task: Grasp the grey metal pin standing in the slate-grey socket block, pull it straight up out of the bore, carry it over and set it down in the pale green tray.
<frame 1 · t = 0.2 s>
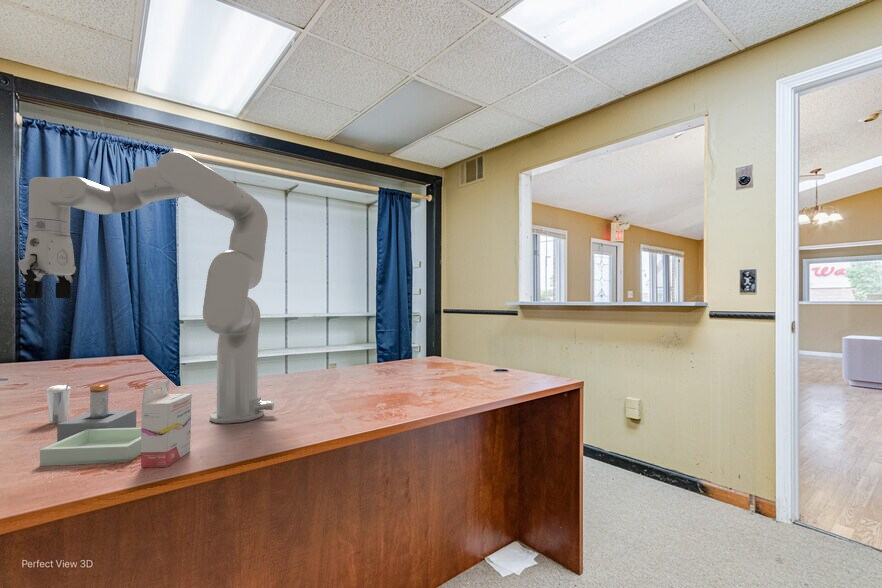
hand: (49, 298, 103), 31 cm above the table, tool pointing down, fingers open, 9 cm apart
milkshake: (59, 423, 104), on the table
tray: (106, 452, 84), on the table
pin: (99, 410, 95), in the socket block
socket block: (99, 434, 95), on the table
ink cartridge box: (167, 460, 81), on the table
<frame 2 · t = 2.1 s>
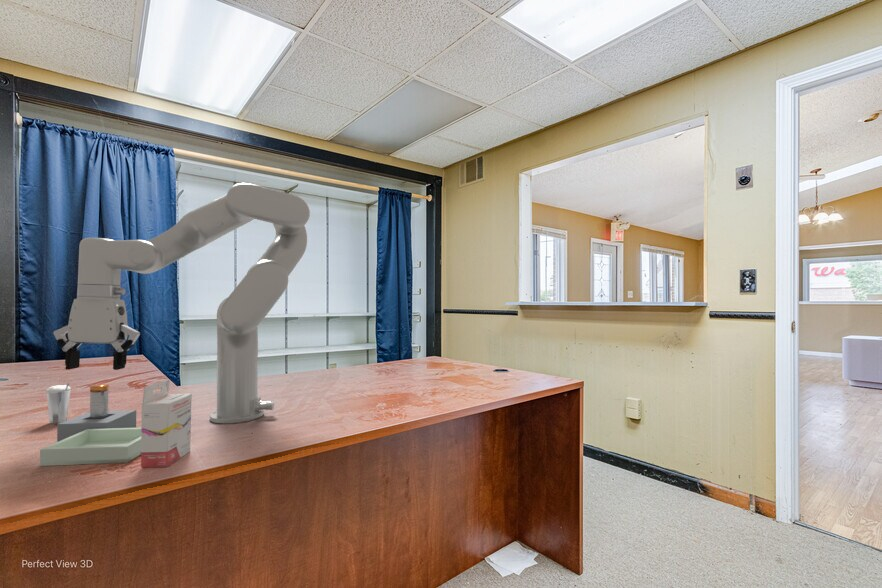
hand: (95, 368, 95), 15 cm above the table, tool pointing down, fingers open, 9 cm apart
nothing on the table moved.
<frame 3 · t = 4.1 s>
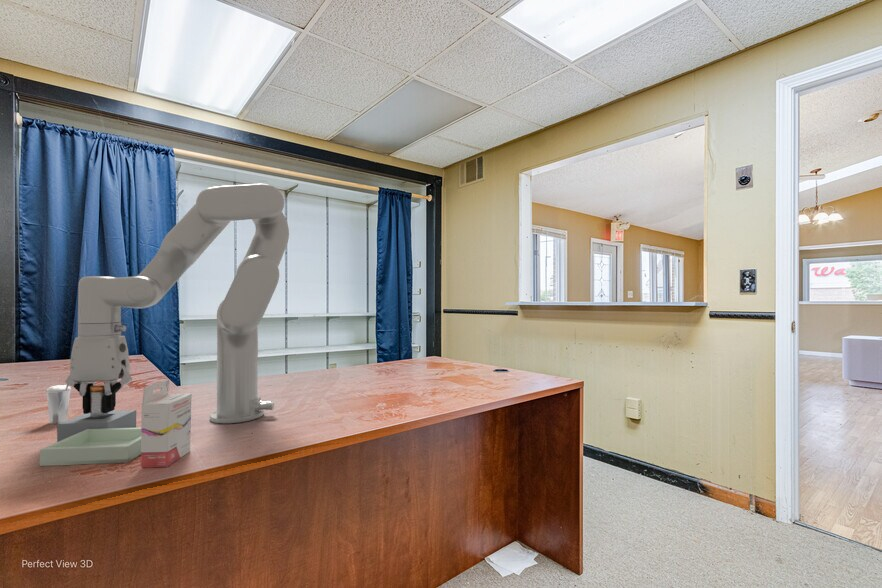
hand: (99, 411, 95), 5 cm above the table, tool pointing down, fingers closed on pin, 3 cm apart
pin: (99, 410, 95), in the socket block, touching gripper
everything else where it was.
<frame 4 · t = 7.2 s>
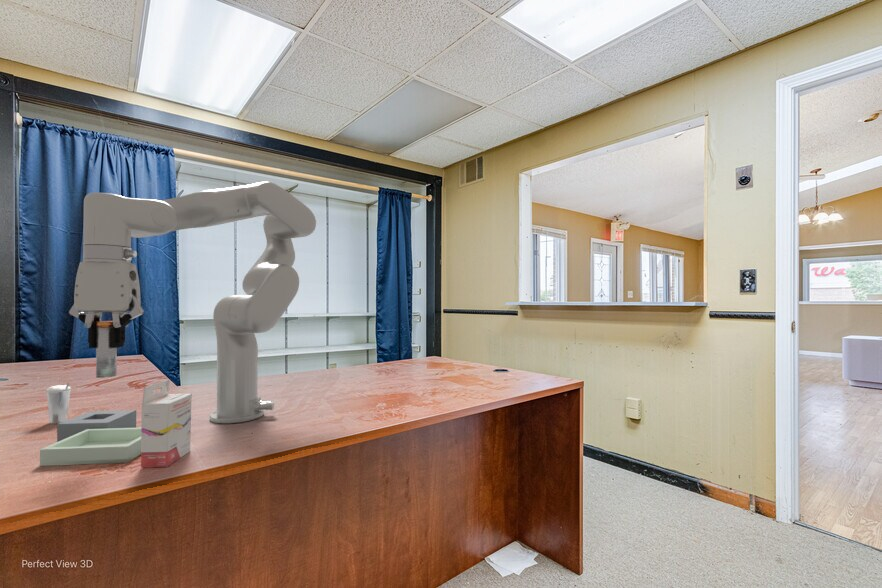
hand: (106, 346, 84), 21 cm above the table, tool pointing down, fingers closed on pin, 3 cm apart
pin: (106, 348, 84), point 21 cm above the table, touching gripper
everything else where it was.
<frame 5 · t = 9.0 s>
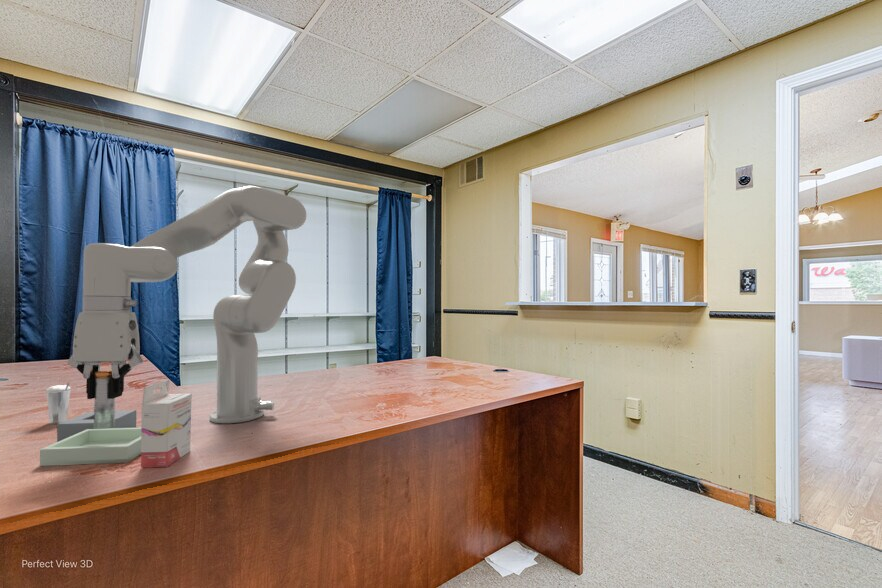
hand: (105, 396, 84), 11 cm above the table, tool pointing down, fingers closed on pin, 3 cm apart
pin: (104, 398, 84), point 11 cm above the table, touching gripper
everything else where it was.
when the fingers open (7 cm above the table, at t = 10.5 s): pin stays where it is, resting on tray.
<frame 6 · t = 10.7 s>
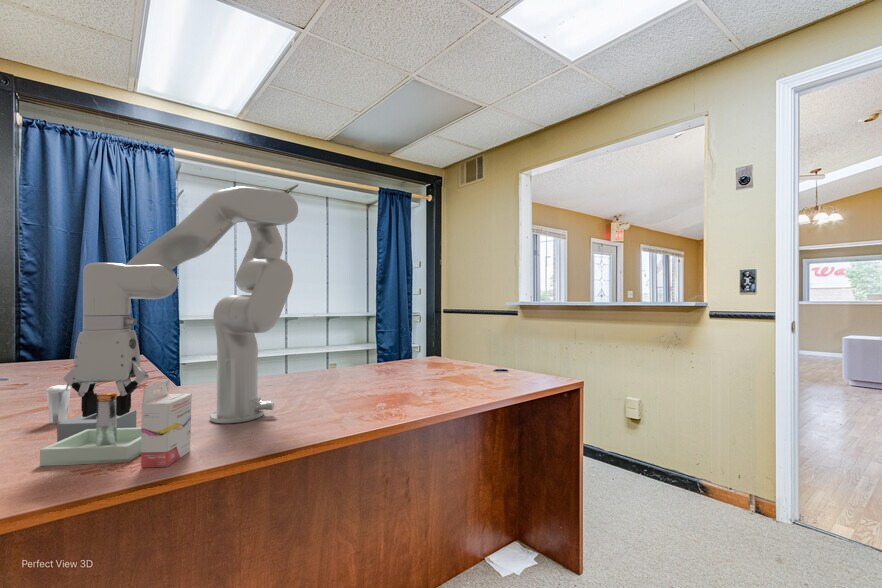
hand: (106, 413, 84), 8 cm above the table, tool pointing down, fingers open, 5 cm apart
pin: (106, 421, 84), in the tray, point 6 cm above the table
everything else where it was.
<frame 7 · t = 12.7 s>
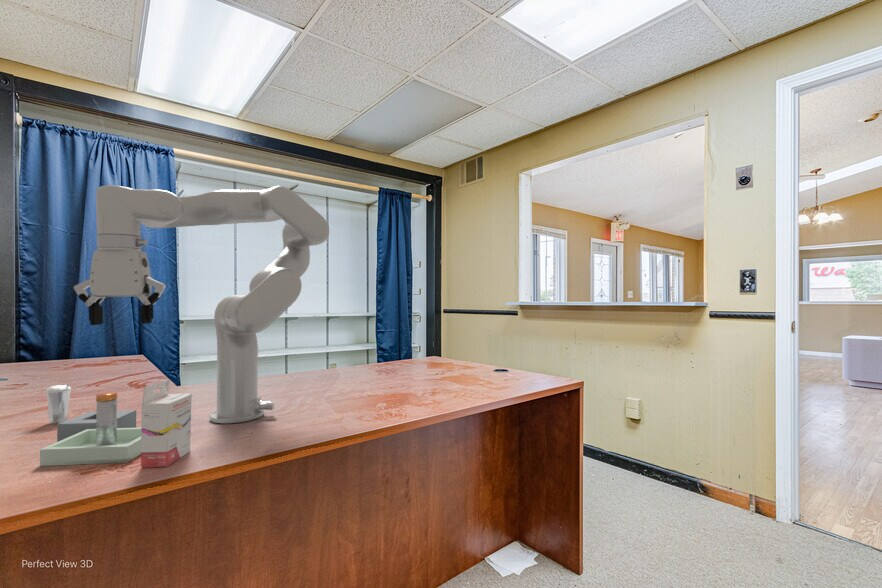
hand: (121, 323, 91), 25 cm above the table, tool pointing down, fingers open, 9 cm apart
nothing on the table moved.
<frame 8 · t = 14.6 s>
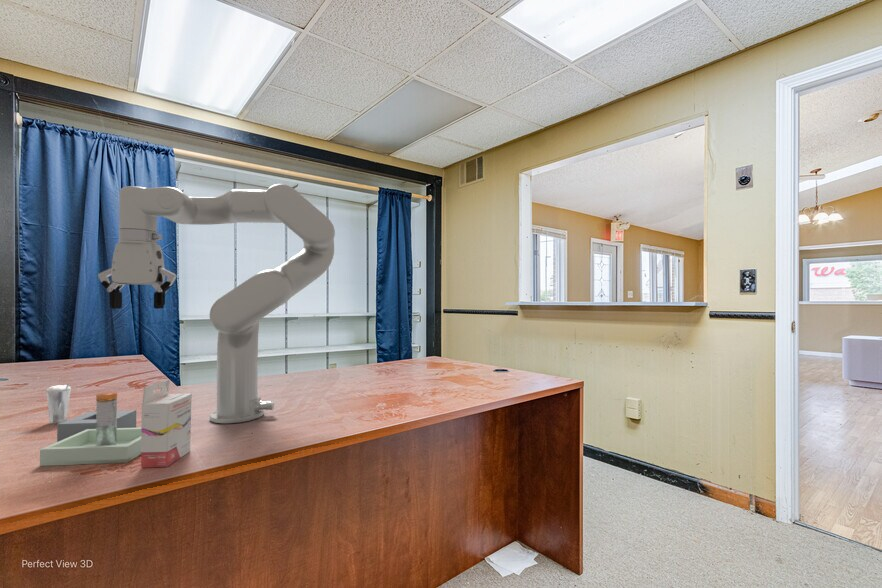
hand: (137, 308, 102), 28 cm above the table, tool pointing down, fingers open, 9 cm apart
nothing on the table moved.
at the end: pin inside the target area on the tray (0.0 cm from its centre), point 6.1 cm above the tray's base; the gripper is holding nothing; pin touching tray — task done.
